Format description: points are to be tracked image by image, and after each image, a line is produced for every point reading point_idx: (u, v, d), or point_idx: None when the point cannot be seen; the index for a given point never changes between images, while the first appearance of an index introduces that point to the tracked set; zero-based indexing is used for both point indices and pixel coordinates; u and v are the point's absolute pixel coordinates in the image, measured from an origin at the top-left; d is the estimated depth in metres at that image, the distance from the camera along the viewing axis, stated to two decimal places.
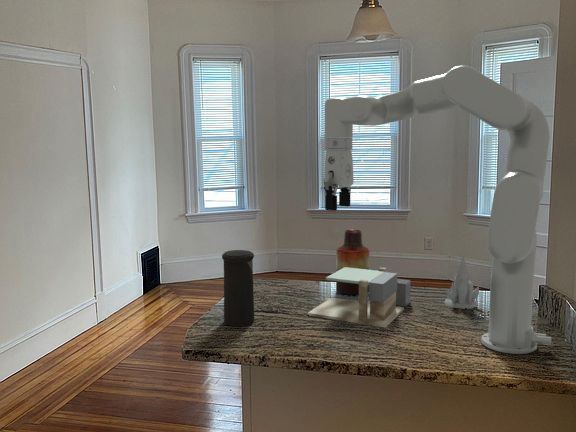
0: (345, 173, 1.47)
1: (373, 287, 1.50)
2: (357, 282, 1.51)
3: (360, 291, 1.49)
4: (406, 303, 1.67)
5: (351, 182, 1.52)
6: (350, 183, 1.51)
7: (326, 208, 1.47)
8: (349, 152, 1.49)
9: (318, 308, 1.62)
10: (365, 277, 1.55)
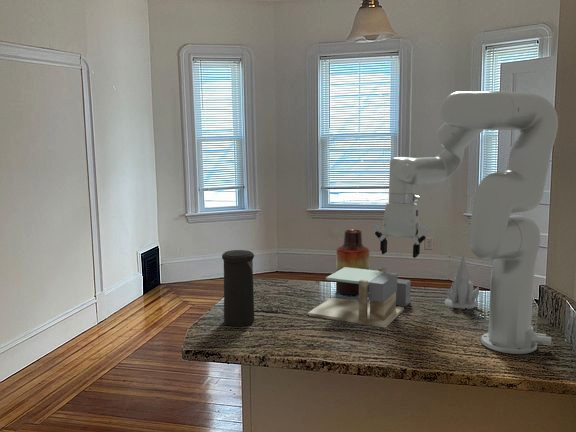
0: None
1: (373, 287, 1.50)
2: (357, 282, 1.51)
3: (360, 291, 1.49)
4: (406, 303, 1.67)
5: None
6: None
7: (415, 256, 1.64)
8: None
9: (318, 308, 1.62)
10: (365, 277, 1.55)
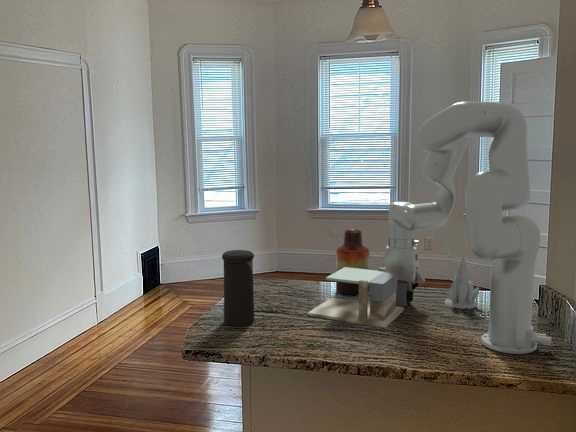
0: None
1: (373, 287, 1.50)
2: (357, 282, 1.51)
3: (360, 291, 1.49)
4: (406, 303, 1.67)
5: None
6: None
7: (408, 302, 1.66)
8: None
9: (318, 308, 1.62)
10: (365, 277, 1.55)
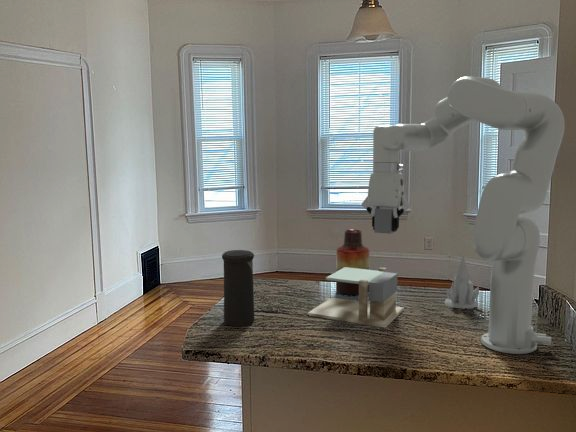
0: None
1: (373, 287, 1.50)
2: (357, 282, 1.51)
3: (360, 291, 1.49)
4: (391, 230, 1.61)
5: None
6: None
7: (394, 230, 1.61)
8: None
9: (318, 308, 1.62)
10: (365, 277, 1.55)
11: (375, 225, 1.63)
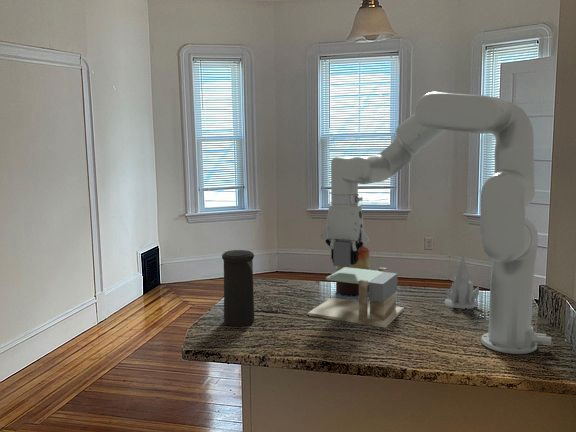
0: None
1: (373, 287, 1.50)
2: (357, 282, 1.51)
3: (360, 291, 1.49)
4: None
5: None
6: None
7: (353, 263, 1.57)
8: None
9: (318, 308, 1.62)
10: (365, 277, 1.55)
11: (334, 258, 1.59)
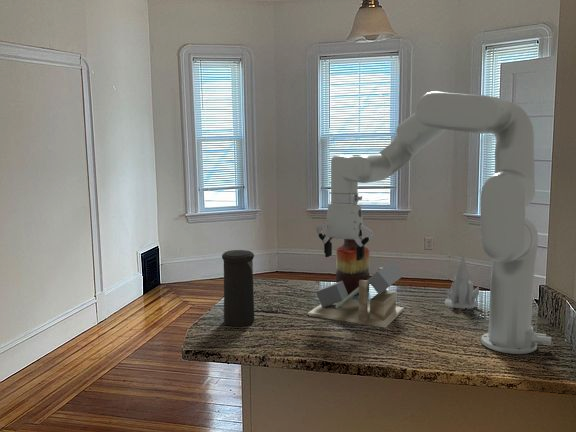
0: None
1: (373, 280, 1.50)
2: None
3: (360, 291, 1.49)
4: (335, 284, 1.61)
5: None
6: None
7: (359, 258, 1.56)
8: None
9: (318, 308, 1.62)
10: None
11: (336, 301, 1.60)
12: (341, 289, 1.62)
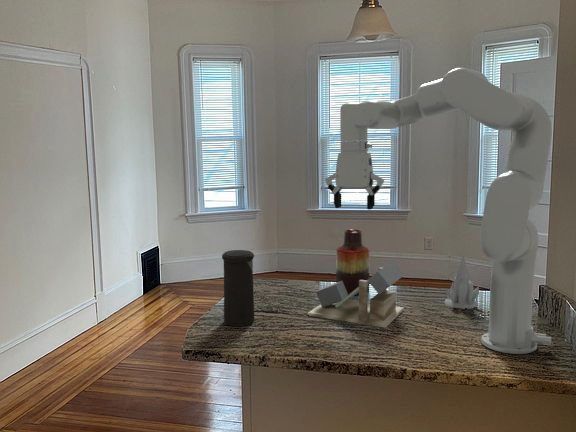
0: None
1: (373, 280, 1.50)
2: None
3: (360, 291, 1.49)
4: (335, 284, 1.61)
5: None
6: None
7: (369, 207, 1.54)
8: None
9: (318, 308, 1.62)
10: None
11: (335, 301, 1.60)
12: (341, 289, 1.62)
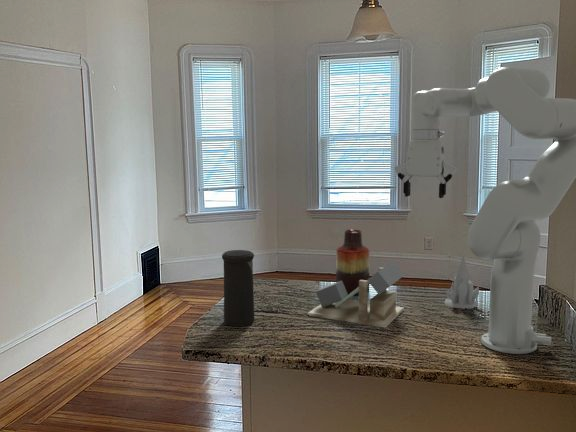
0: None
1: (373, 281, 1.50)
2: None
3: (360, 291, 1.49)
4: (334, 284, 1.61)
5: None
6: None
7: (441, 196, 1.54)
8: None
9: (318, 308, 1.62)
10: None
11: (335, 301, 1.60)
12: (341, 289, 1.62)
